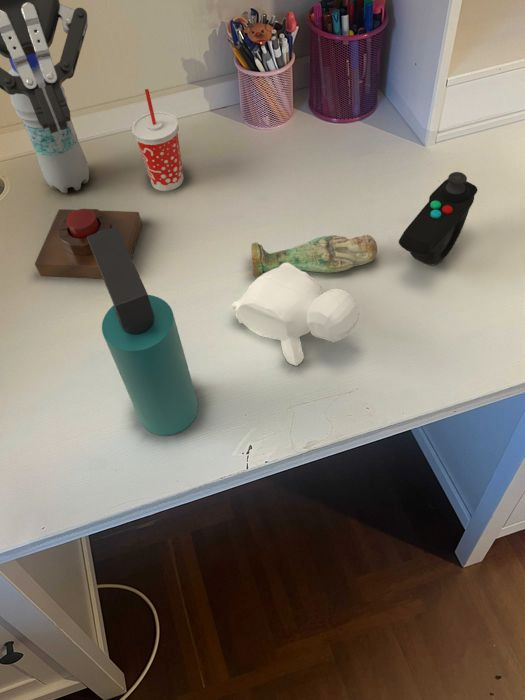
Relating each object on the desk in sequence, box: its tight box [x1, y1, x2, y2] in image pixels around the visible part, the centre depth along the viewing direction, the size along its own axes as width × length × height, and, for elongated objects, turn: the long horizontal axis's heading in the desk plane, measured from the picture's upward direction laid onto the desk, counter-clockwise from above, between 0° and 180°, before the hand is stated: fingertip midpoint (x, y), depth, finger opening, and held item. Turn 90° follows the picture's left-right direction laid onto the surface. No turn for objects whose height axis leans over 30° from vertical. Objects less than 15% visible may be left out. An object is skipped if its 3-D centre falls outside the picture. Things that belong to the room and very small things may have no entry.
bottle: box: [8, 54, 90, 194], centre depth 86 cm, size 7×7×20 cm
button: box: [67, 208, 99, 239], centre depth 82 cm, size 4×4×2 cm
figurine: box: [250, 234, 378, 277], centre depth 80 cm, size 6×15×4 cm, turn 87°
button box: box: [34, 208, 143, 280], centre depth 84 cm, size 11×10×4 cm
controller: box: [398, 171, 478, 266], centre depth 77 cm, size 4×12×10 cm, turn 142°
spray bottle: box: [87, 227, 199, 436], centre depth 63 cm, size 11×6×20 cm, turn 24°
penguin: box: [230, 263, 360, 367], centre depth 72 cm, size 9×8×15 cm
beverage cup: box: [131, 88, 185, 192], centre depth 87 cm, size 6×6×14 cm
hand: (59, 128), depth 62 cm, fingers closed
